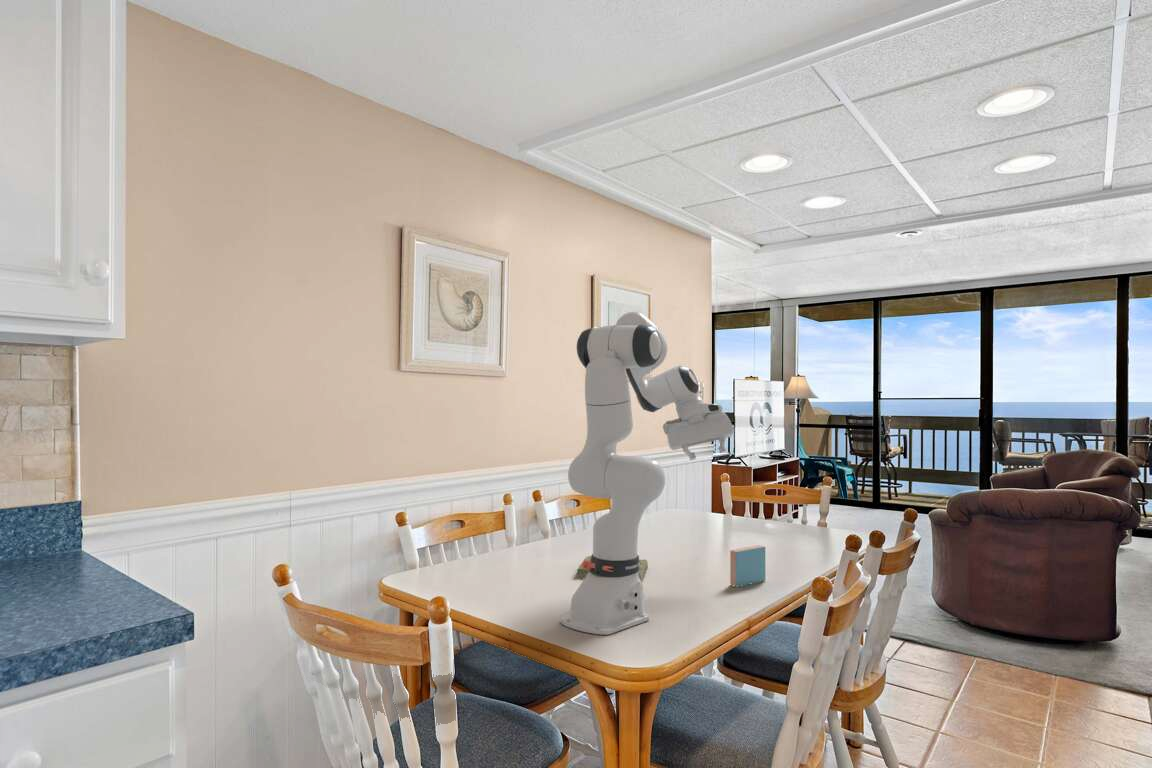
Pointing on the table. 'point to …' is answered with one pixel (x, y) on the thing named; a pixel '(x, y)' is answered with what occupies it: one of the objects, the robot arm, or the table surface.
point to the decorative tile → (642, 571)
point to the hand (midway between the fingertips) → (708, 455)
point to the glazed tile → (747, 565)
